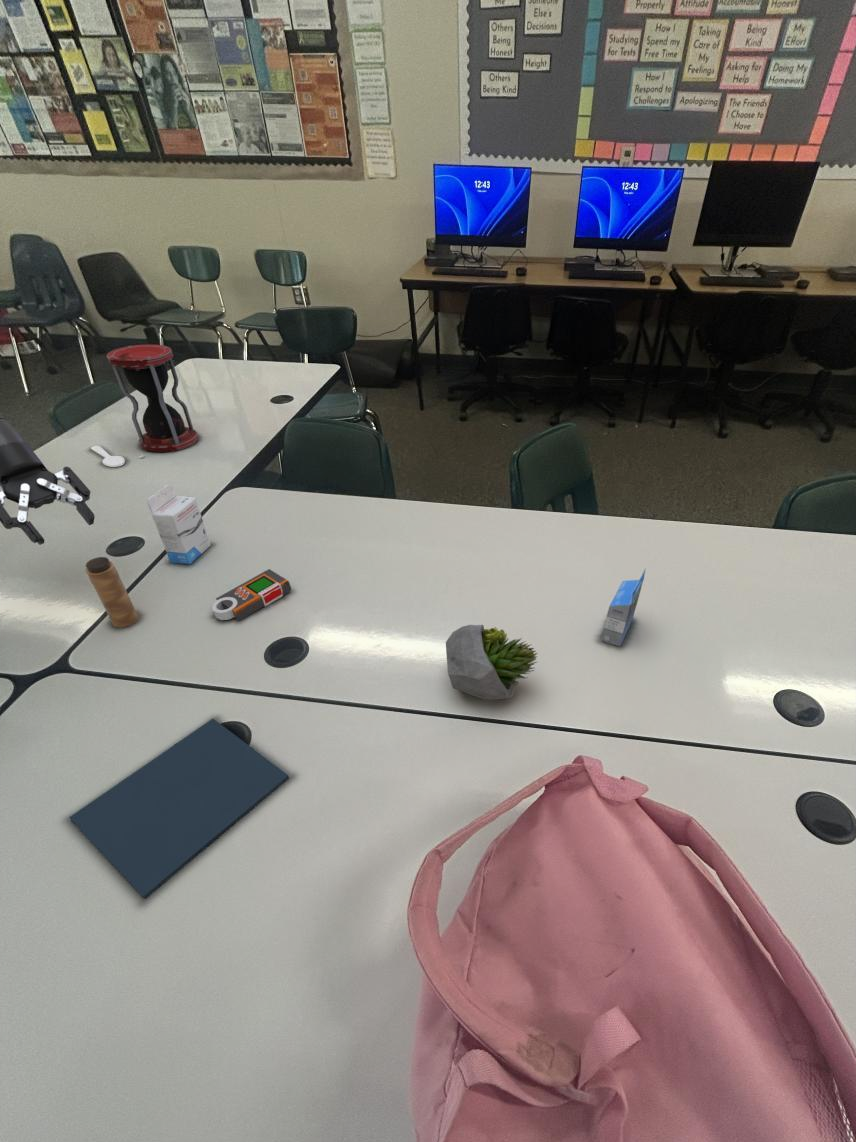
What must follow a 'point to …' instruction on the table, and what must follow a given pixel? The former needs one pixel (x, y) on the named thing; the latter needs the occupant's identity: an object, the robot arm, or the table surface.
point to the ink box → (179, 525)
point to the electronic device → (251, 596)
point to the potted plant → (486, 662)
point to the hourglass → (153, 397)
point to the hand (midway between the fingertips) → (67, 532)
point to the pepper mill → (111, 592)
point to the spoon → (109, 457)
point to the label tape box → (622, 611)
